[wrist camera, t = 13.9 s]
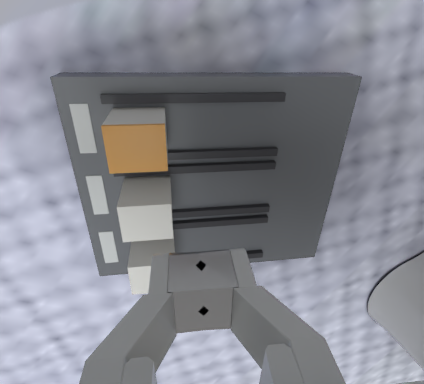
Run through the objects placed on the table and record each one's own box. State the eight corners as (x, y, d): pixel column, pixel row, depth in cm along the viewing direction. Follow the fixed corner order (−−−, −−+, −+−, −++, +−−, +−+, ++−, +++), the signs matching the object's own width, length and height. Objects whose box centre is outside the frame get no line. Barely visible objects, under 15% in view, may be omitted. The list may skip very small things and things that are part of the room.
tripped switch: (165, 107, 20) (164, 124, 17) (167, 146, 22) (168, 171, 18) (112, 107, 20) (100, 126, 16) (119, 148, 21) (109, 173, 18)
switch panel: (347, 72, 23) (404, 87, 18) (306, 244, 32) (335, 289, 27) (59, 72, 20) (21, 90, 15) (103, 261, 29) (89, 315, 24)
